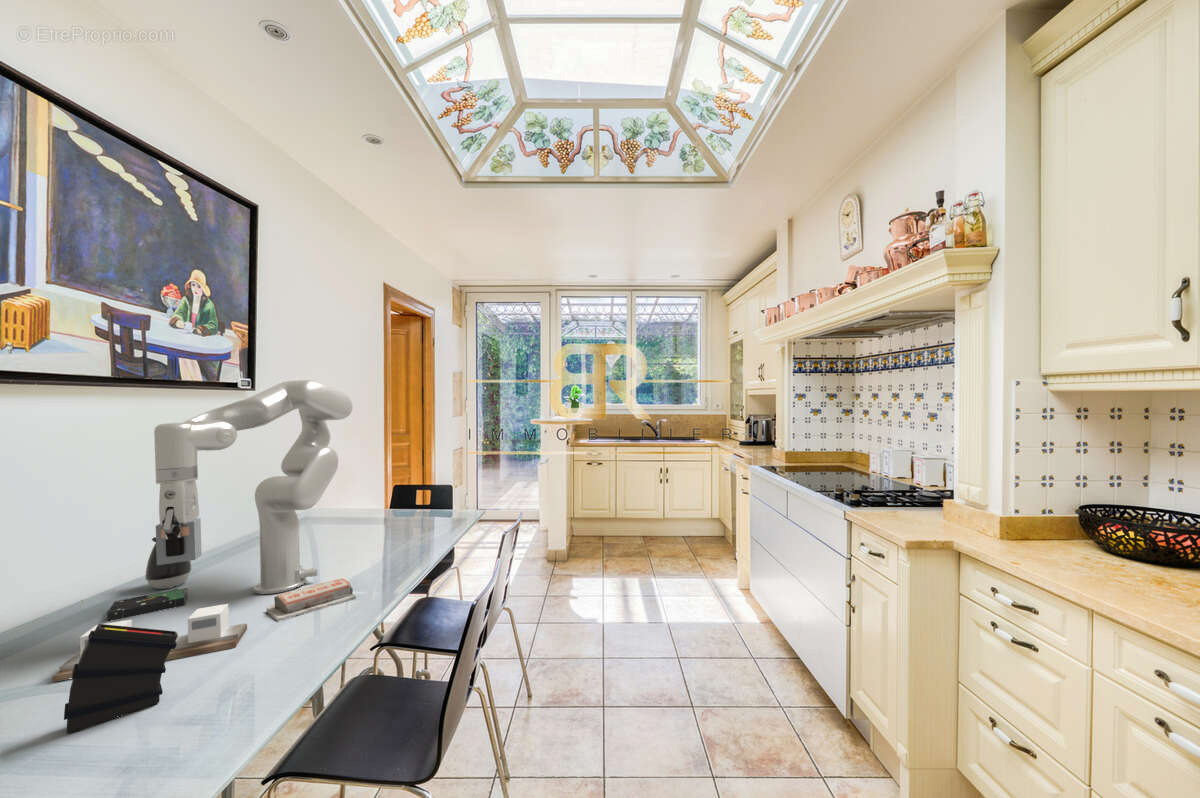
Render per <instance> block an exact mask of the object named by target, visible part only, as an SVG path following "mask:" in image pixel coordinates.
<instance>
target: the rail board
mask: <svg viewBox="0 0 1200 798" xmlns="http://www.w3.org/2000/svg"><path fill="white" fill-rule="evenodd" d="M247 631H248V623H239V624H235V625H229V626H228V628H227V629H226V631H225V632H224V633H223V635H222V636H221V637H219V638H214V639H209V640H203V641H198V642H192V643H188V633H184V634H178V637H177V639H176V643H177V645H176V647H175V649H171V651H170V652H169V654H168V656H167V658H166V660H168V661H170V660H169V659H173V660H177V659H176V658H178V659H183V658H182V657H184V658H188V657H192V656H199V655H202V654H208V653H209V654H210V653H215V652H218V651H225V650H229V649H234V648H237V646H238V644H239V643H240V642H241V640H242V638H243V636H244V635H245V634H246V632H247ZM79 661H80V652H78V653H76V654H74V655H73V656H72V657H70V658H69V659H68V660H65V662H64V663H63V664H61V665H60V666H59V667H58V668H59V669H58V672H56V673H55V674H54V675H53V676H52V683H53V682H55V681H60V682H62V681H61V680H65V681H67V680H66V679H69V678H72V672H73V668H74V665H75V664H78V663H79ZM55 683H56V682H55Z"/></svg>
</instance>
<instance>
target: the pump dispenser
mask: <svg viewBox="0 0 1200 798" xmlns="http://www.w3.org/2000/svg"><path fill="white" fill-rule="evenodd" d="M151 541H152V542H154V546H153V547H152V549H151V552H150V554H149V557H148V560H147V564H146V569H145V578H144V579H145V580H146V581H147V583H148V585H149V586H150V587H152V588H153V589H155V590H165V589H164V588H168V589H171V588H170V587H172V588H175V587H174V586H176V587H178V586H180V585H182V584H184V582H186V581H187V580H188V578H189V576H190V573H191V571H192V562H191V561H184V562H177V563H170V564H162V565H157V554H156V536H155V537H154V536H153V537H152V538H151Z"/></svg>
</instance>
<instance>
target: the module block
mask: <svg viewBox="0 0 1200 798" xmlns="http://www.w3.org/2000/svg"><path fill="white" fill-rule="evenodd" d="M201 522H202V521H201V517H197V518H196V519H194V520H192V521H191V522H189V523H188V524H183V527H182V537H184V551H185V553H184V554H183V555H178V556H170V557H167V556H166V539H165V531H164V529H163V527H164V526H162V525H160V523H158V524H156V525H155V537H156V543H155V544H156V554H157V565H162V564H170V563H177V562H184V561H190V562H191V561H196V560H198V558H200V557H201V556H202V528H201V527H202V526H201V525H202V523H201ZM175 524H179V522H174V523H173V525H175ZM175 528H176V529H177V531H178V527H175Z"/></svg>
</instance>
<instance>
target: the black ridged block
mask: <svg viewBox="0 0 1200 798" xmlns="http://www.w3.org/2000/svg"><path fill="white" fill-rule="evenodd" d="M106 624H107V623H99V624H97V625H98V626H97V627H96V629H95V631H91V632H90V634H89V636H88V643H87V645H86V646H85V648H84V650H83V652H82V655H81V658H80V661H79V663H78V664H75V665H74V668H73V672H72V679H71V680H72V681H71V684H70V689H69V696H68V702H66V703H65V704H64V712H63V713H64V714H63V720H64V721H66V730H65V731H66V734H67V735H70V734H73V733H75V732H78V730H79V731H81V729H82V730H85V729H87V727H88V728H90V726H91V727H93V725H94V726H96V725H100V724H102V723H105V722H107V721H111V720H113V719H112V718H114V717H117V716H120V717H122V716H121V715H123V716H125V715H124V714H126V715H128V714H127V713H129V714H131V713H130V712H132V713H135V712H137V710H138V711H140V710H143V709H146V708H149V707H151V706H150V705H152V706H154V704H155V705H157V703H158V704H160V700H161V699H160V696H162V695H163V688H162V687H163V686H162V684H161V681H162V674H165V673H166V671H167V668H166V666H165V664H166V662H167V661H166V658H167V656H168V654H169V652H170V651H171V649H175V647H176V645H177V643H176V639H177V637H178V635H179V634H178V632H177V631H175V630H164V629H155V628H146V627H145V628H143V627H134V626H132V627H126V626H116V625H106ZM148 706H149V707H148ZM145 707H146V708H145ZM134 711H135V712H134ZM117 718H118V717H117ZM110 719H111V720H110ZM114 719H115V718H114ZM84 728H85V729H84Z"/></svg>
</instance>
